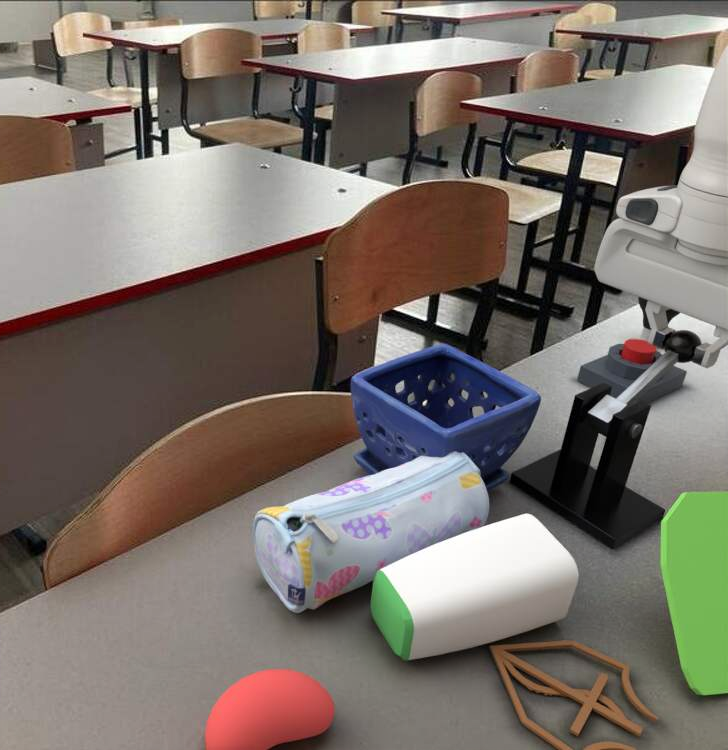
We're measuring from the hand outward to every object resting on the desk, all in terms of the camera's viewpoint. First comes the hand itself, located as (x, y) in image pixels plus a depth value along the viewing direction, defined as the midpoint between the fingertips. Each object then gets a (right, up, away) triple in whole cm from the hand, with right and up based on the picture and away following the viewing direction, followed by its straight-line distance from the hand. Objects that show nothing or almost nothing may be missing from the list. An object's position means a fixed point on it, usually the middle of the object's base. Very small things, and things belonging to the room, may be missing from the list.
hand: (680, 354), depth 78 cm
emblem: (-19, -25, -18) cm, 37 cm away
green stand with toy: (-3, -19, -15) cm, 24 cm away
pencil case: (-32, -19, -6) cm, 38 cm away
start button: (+6, 0, +21) cm, 21 cm away
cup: (-32, -21, -16) cm, 41 cm away
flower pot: (-23, -13, +5) cm, 27 cm away
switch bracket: (-8, -15, +2) cm, 17 cm away
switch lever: (-4, -4, -1) cm, 5 cm away
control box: (+6, -3, +22) cm, 23 cm away
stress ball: (-42, -26, -26) cm, 55 cm away
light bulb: (+14, +2, +32) cm, 35 cm away
